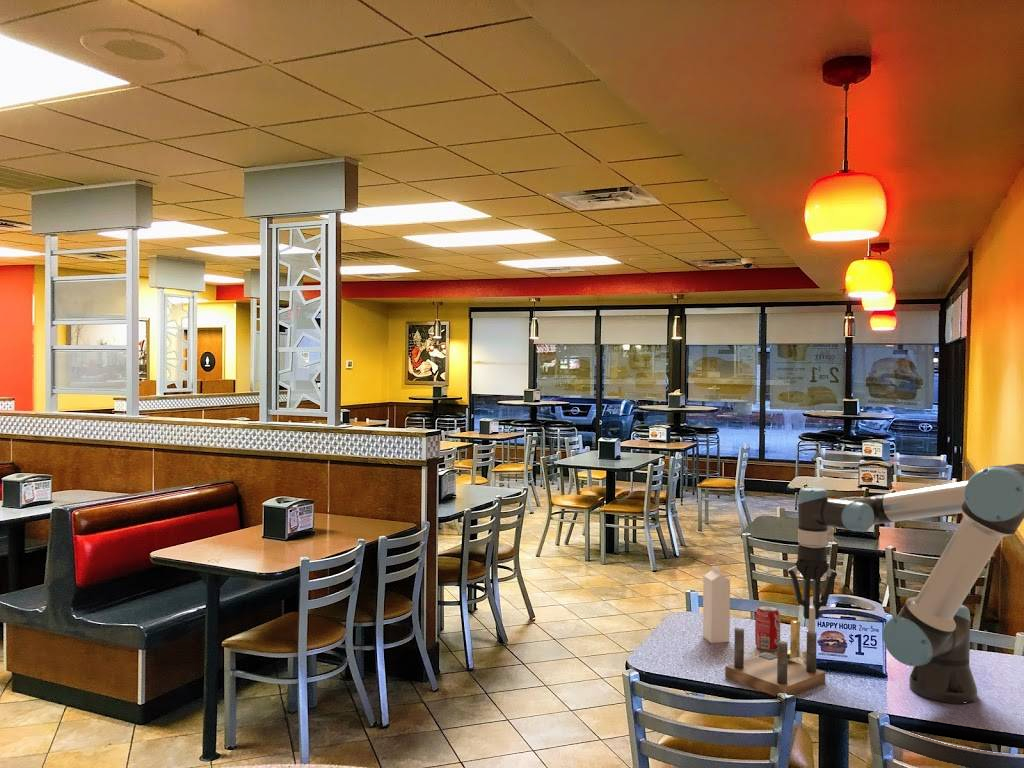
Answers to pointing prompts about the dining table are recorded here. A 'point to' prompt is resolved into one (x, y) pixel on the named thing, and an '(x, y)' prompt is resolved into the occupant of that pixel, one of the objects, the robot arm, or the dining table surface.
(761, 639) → the soda can
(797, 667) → the stool seat
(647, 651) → the dining table surface
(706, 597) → the milk
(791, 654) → the hinged leg
